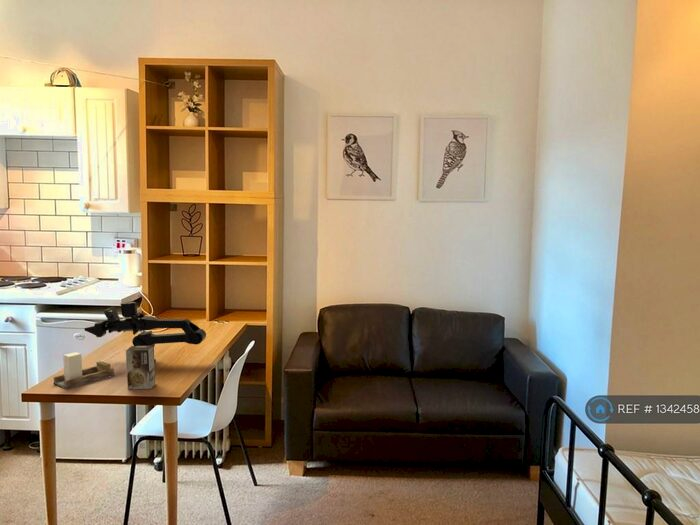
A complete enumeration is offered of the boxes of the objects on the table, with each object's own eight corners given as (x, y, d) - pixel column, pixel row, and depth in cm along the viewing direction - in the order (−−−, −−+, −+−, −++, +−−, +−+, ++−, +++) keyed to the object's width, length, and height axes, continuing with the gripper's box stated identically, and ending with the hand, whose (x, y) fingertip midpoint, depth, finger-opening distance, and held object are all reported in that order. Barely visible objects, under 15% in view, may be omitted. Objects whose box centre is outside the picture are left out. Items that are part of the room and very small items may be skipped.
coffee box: (155, 383, 208) (154, 345, 206) (150, 389, 202) (148, 349, 200) (133, 383, 208) (131, 345, 206) (126, 389, 202) (125, 349, 200)
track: (101, 371, 223) (100, 360, 223) (114, 375, 218) (113, 364, 217) (53, 384, 207) (53, 372, 206) (66, 389, 201) (65, 376, 201)
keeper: (77, 376, 212) (75, 352, 211) (82, 379, 209) (81, 353, 208) (64, 380, 208) (63, 354, 206) (70, 382, 205) (68, 356, 204)
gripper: (130, 303, 242) (97, 305, 243) (112, 311, 224) (76, 314, 224) (132, 326, 244) (100, 328, 244) (115, 336, 225) (79, 338, 225)
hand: (89, 326), depth 234 cm, fingers open, 9 cm apart
